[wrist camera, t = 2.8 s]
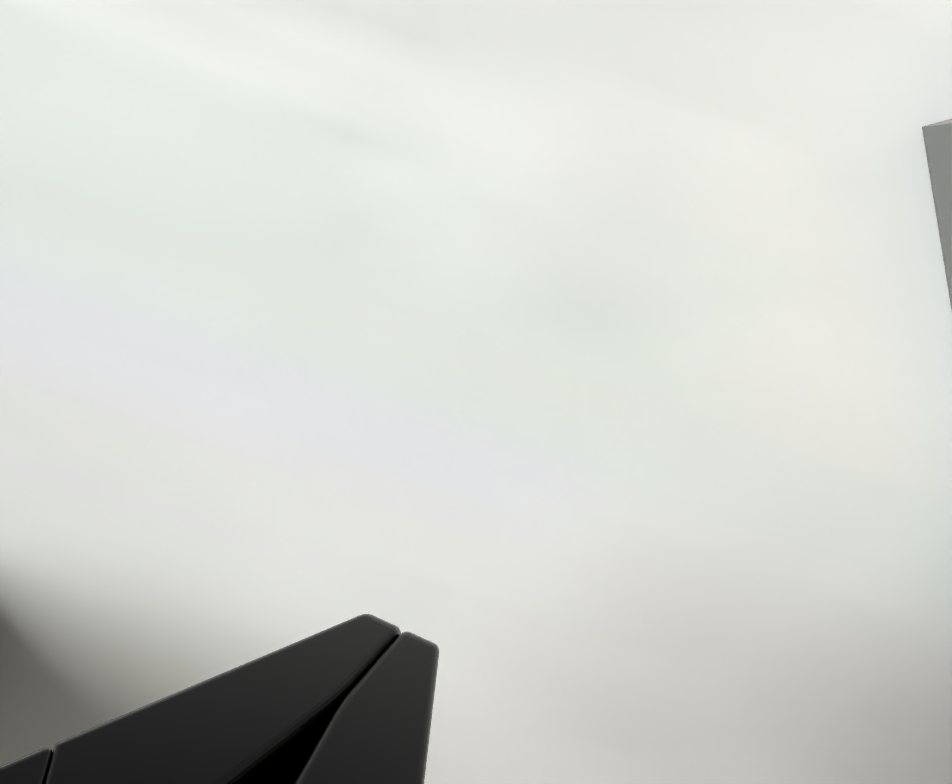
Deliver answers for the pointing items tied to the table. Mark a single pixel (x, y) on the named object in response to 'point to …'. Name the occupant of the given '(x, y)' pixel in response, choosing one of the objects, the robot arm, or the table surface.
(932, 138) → the grey switch base
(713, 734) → the table surface
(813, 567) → the table surface
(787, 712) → the table surface
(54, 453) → the table surface
